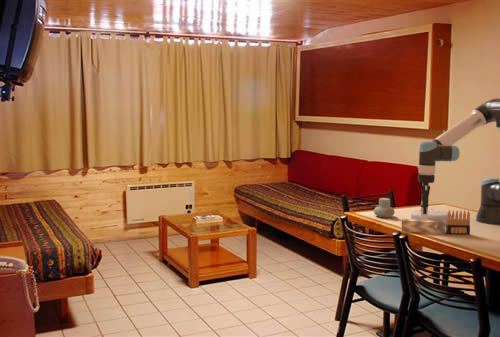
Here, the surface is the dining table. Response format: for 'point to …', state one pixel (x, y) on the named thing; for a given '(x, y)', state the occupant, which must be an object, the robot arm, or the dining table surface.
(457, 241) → the dining table surface
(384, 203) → the air freshener
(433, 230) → the mottled beige block
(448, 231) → the ammunition clip
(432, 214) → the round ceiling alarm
